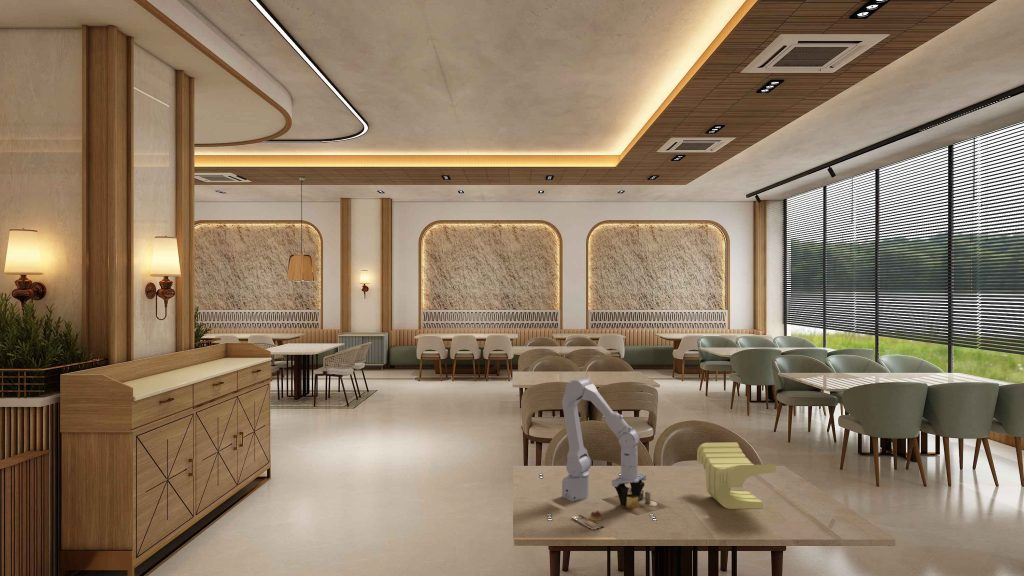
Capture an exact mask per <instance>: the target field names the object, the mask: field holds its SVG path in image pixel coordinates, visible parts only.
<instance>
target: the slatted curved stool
mask: <svg viewBox="0 0 1024 576" xmlns="http://www.w3.org/2000/svg"><path fill="white" fill-rule="evenodd" d="M696 453H697V454H696V462H697V463H700V465H702V467H703V469H704V471H705V481H706V492H707V494H708V495H710V496H711V497H712V498H713V499H714V500H715V501H716V502H717V503H719V504H720V505H721V506H722V507H724V508H725V509H728V510H729V509H730V510H732V509H735V510H736V509H737V510H739V509H764V508H765V507H764V503H763V501H762V500H761V499H759V498H758V497H757V496H755V495H754V494H752V493H751V492H750V491H745V490H743V491H741V490H739V491H737V490H731V488H743V485H744V482H745V481H746V480H747V479H748V478H749V477H752V476H755V475H757V476H758V475H763V474H764V475H765V474H776V471H777V470H776V468H777V464H754V463H752V461H750V460H749V458H748V457H746V455H745V453H743V450H742V449H741V448H740V445H739V443H738V442H737V441H735V442H733V441H732V442H730V441H729V442H724V441H723V442H704V443H703V442H702V443H701V444H700V445H699V446H698V448H697V451H696Z"/></svg>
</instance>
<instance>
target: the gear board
mask: <svg viewBox="0 0 1024 576" xmlns="http://www.w3.org/2000/svg"><path fill="white" fill-rule="evenodd" d="M628 488H629V490H628V493H631V494H632V490H631V486H630V487H628ZM644 492H645V493H644ZM644 494H645V495H644ZM601 500H602V501H604V502H606V503H609V504H610V505H613V506H616V507H618V508H620V509H622V510H624V511H626V512H629V513H631V514H633V515H636V516H640V515H643V514H647V513H651V512H655V511H657V510H662V509H665V508H669V505H666V504H663V503H660V502H658V501H655V500H653V499H651V491H644V490H643V489H642V491H641V493H640V496H639V500H638V507H636V508H630V509H628V508H625V507H623V506H622V505H620V499H619V496H618V495H614V496H611V497H606V498H602V499H601Z"/></svg>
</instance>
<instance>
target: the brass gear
mask: <svg viewBox="0 0 1024 576" xmlns="http://www.w3.org/2000/svg"><path fill="white" fill-rule="evenodd" d="M620 505H621V504H620ZM622 506H623V505H622ZM623 507H625V508H628V509H630V508H636V507H638V496H637V495H635V494H631V493H627V503H626V506H623Z"/></svg>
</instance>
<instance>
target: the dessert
mask: <svg viewBox="0 0 1024 576" xmlns="http://www.w3.org/2000/svg"><path fill="white" fill-rule="evenodd" d="M580 517H583V518H585V516H583V515H582V514H578V515H573V516H571V517H570V518H571V519H573V520H575V521H576V522H578V523H580V524H582V525H584V526H585V527H587V528H588V529H590V528H591V529H590V530H593V529H594V530H597V528H599V529H602V528H601V527H603V528H604V526H603V525H602V526H598V527H594V528H592V527H590V526H589V525H586V524H585V523H583V522H582V521H580V520H579V519H581V518H580ZM575 518H579V519H575ZM601 520H603V517H602V514H601V512H600V510H597V508H593V509H592V512H591V513H590V517H589V520H588V522H589V521H590V522H593V523H597V522H595V521H601ZM590 522H589V523H590ZM593 523H592V524H593ZM594 530H593V531H594Z"/></svg>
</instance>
